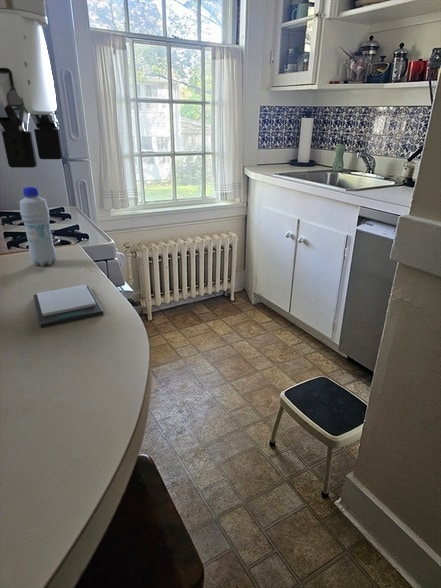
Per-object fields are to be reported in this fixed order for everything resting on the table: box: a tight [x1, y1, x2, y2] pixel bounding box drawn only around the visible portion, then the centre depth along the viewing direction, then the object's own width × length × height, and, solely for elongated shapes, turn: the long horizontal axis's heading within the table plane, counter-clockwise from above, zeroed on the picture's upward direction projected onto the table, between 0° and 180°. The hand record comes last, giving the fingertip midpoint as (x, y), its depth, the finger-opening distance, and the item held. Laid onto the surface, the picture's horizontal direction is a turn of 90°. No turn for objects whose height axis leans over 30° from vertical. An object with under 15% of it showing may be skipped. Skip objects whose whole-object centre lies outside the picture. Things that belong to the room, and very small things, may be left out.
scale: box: [33, 284, 105, 329], centre depth 77 cm, size 14×11×3 cm
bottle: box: [19, 186, 57, 267], centre depth 100 cm, size 7×7×20 cm
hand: (38, 162), depth 52 cm, fingers open, 9 cm apart
